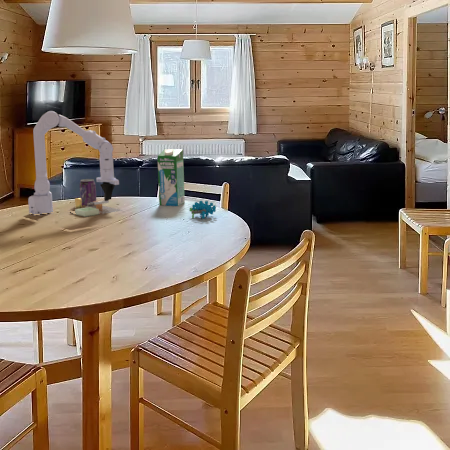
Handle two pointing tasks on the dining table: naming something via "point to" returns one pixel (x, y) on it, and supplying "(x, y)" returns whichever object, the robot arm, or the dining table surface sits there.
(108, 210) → the base plate
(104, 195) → the crank
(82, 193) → the beverage can
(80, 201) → the brass pin
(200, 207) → the gear
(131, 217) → the dining table surface
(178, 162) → the milk carton
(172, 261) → the dining table surface
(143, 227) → the dining table surface
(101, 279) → the dining table surface
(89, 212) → the tray
